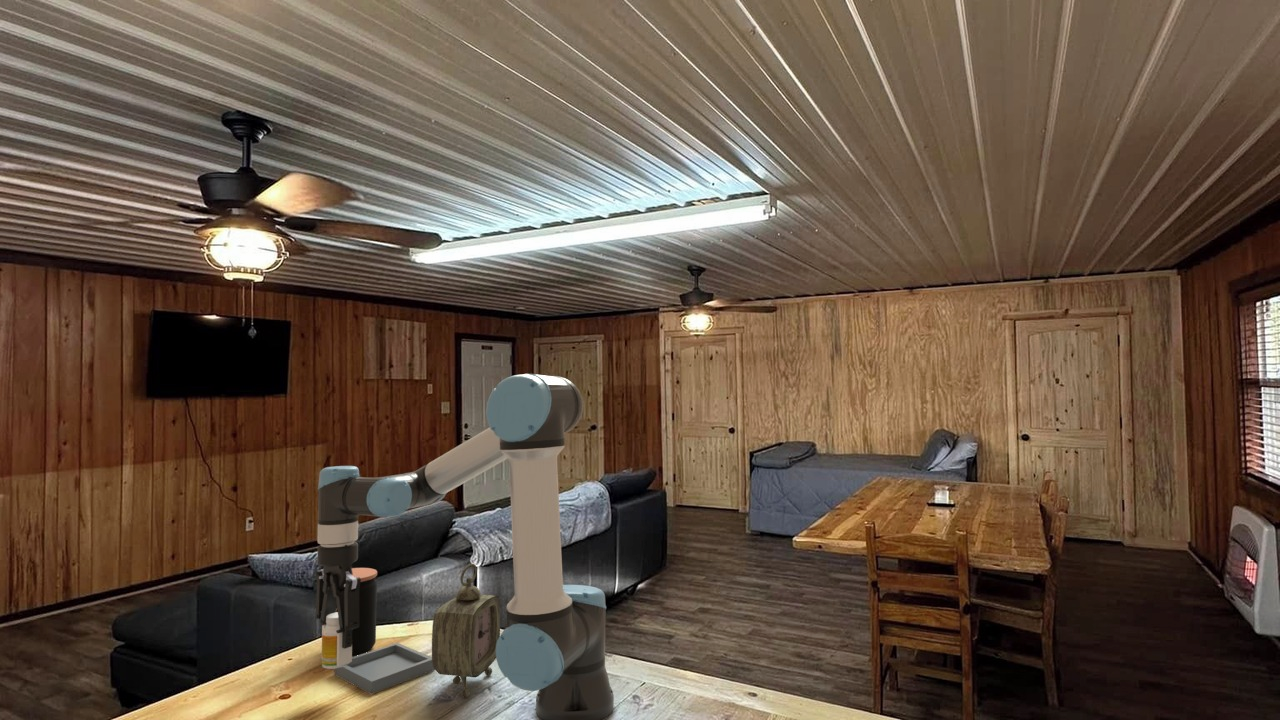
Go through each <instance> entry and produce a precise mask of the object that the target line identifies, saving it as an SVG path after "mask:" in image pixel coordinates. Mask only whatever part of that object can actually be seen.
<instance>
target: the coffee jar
mask: <svg viewBox="0 0 1280 720" xmlns="http://www.w3.org/2000/svg"><path fill="white" fill-rule="evenodd" d="M352 572H353V575H352V576H353V577H354V578H357V577H360V579H361V582H360V588H359V627H358V628H355V629H353V630H352V656H354V657H355V656H357V655H361V654H364V653H366V652H368V651H369V652H370V651H372V649H373V647H374V646H375V644H376V640H377V638H376V636H377V634H376V633H377V603H378V602H377V601H378V600H377V599H378V598H377V597H378V595H377V594H378V582H377V580H376V577H377V576H378V571H377V569H374V568H370V567H352ZM342 591H345V590H342ZM342 591H339V592H342ZM336 612H338V610H337V607H336Z"/></svg>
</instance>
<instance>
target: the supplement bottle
mask: <svg viewBox="0 0 1280 720" xmlns="http://www.w3.org/2000/svg"><path fill="white" fill-rule="evenodd" d="M326 624H327V626H326V627H325V628H324V629H323V631H322V630H321V667H322V668H324V669H326V670H332V669H334V670H335V668H340V667H344V666H346V665H348V664H349V663H347V664H344V665H341V666H337V632H336V630H340V627H339V618H338V612H336V613H332V614H329V615H327V616H326Z"/></svg>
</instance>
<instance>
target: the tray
mask: <svg viewBox="0 0 1280 720" xmlns="http://www.w3.org/2000/svg"><path fill="white" fill-rule="evenodd" d="M433 671H436V670H435V669H434V668H433V665H432V656H430V655H428V654H426V653H422V652H420V651H418V650H416V649H413V648H411V647H408V646H406V645H404V644H401V643H399V642H395V643H391V644H389V645H385V646H382V647H379V648H376V649H373V650H370V651H369V652H367V653H364V654H361V655H358V656H354V657H352V662H350V663H349V664H348V665H346V666H344V667H340V668H335V669H334V673H333V674H334V675H335V676H336V677H337V678H338V677H339V678H340V679H342V680H343V681H345V680H346V682H347V681H348V683H349V682H350V683H349V684H351V683H352V685H353V684H354V685H353V686H355V687H357V688H359V689H361V690H363V691H365V692H367V693H369V694H370V695H372V694H375V693H378V692H380V691H383V690H386V689H389V688H392V687H394V686H397V685H399V684H402V683H405V682H407V681H409V680H410V681H411V680H412V679H414V678H415V679H416V678H417V677H420V676H422V675H425V674H427V673H431V672H433Z"/></svg>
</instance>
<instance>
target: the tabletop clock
mask: <svg viewBox="0 0 1280 720" xmlns="http://www.w3.org/2000/svg"><path fill="white" fill-rule="evenodd" d="M471 567H472V568H473V569H474V574H473V576H472V577H467V578H466V581H465V582H464V577H465V573H466V572H467V570H468V569H470V568H471ZM477 573H478V568H477V566H476V564H475V563H469V564H467V565H466V566H465V567H463V569H462V571H461V574H460V584H461V585H462V587H461V588H459V589H458V591H457V593H456V595H455V597H454V598H452V599H450V600H448V601H446V602H445V603H444V604H442V605H441V606H440V607H438V608H437V610H436V611H435V612H434V614H433V618H432V619H433V620H432V633H431V636H432V637H431V657H432V665H433V668H434V669H435V670H434V671H436V673H437V674H439V675H442V676H443V675H444V676H445V675H446V676H454V677H453V679H452V684H453V685H455V686H456V685H459V684H461V683H462V686H463V689H462V691H461V696H462V697H463V698H468V697H470V694H471V691H470V689H469V688H467V686H468V685H467V678H478V677H479V676H480V675H481V674H483V673H484V675H486V676H491V675H492V673H493V668H492V667H491V665H492V664H493V663H494V661H496V660H497V659H496V644H497V641H498V638H499V637H500V636H501V601H500V598H499V596H498V595H489V594H481V591H480V589H479V588H478V587H477V586H475V585H472V583H474V581H475V579H476V577H477Z"/></svg>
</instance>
